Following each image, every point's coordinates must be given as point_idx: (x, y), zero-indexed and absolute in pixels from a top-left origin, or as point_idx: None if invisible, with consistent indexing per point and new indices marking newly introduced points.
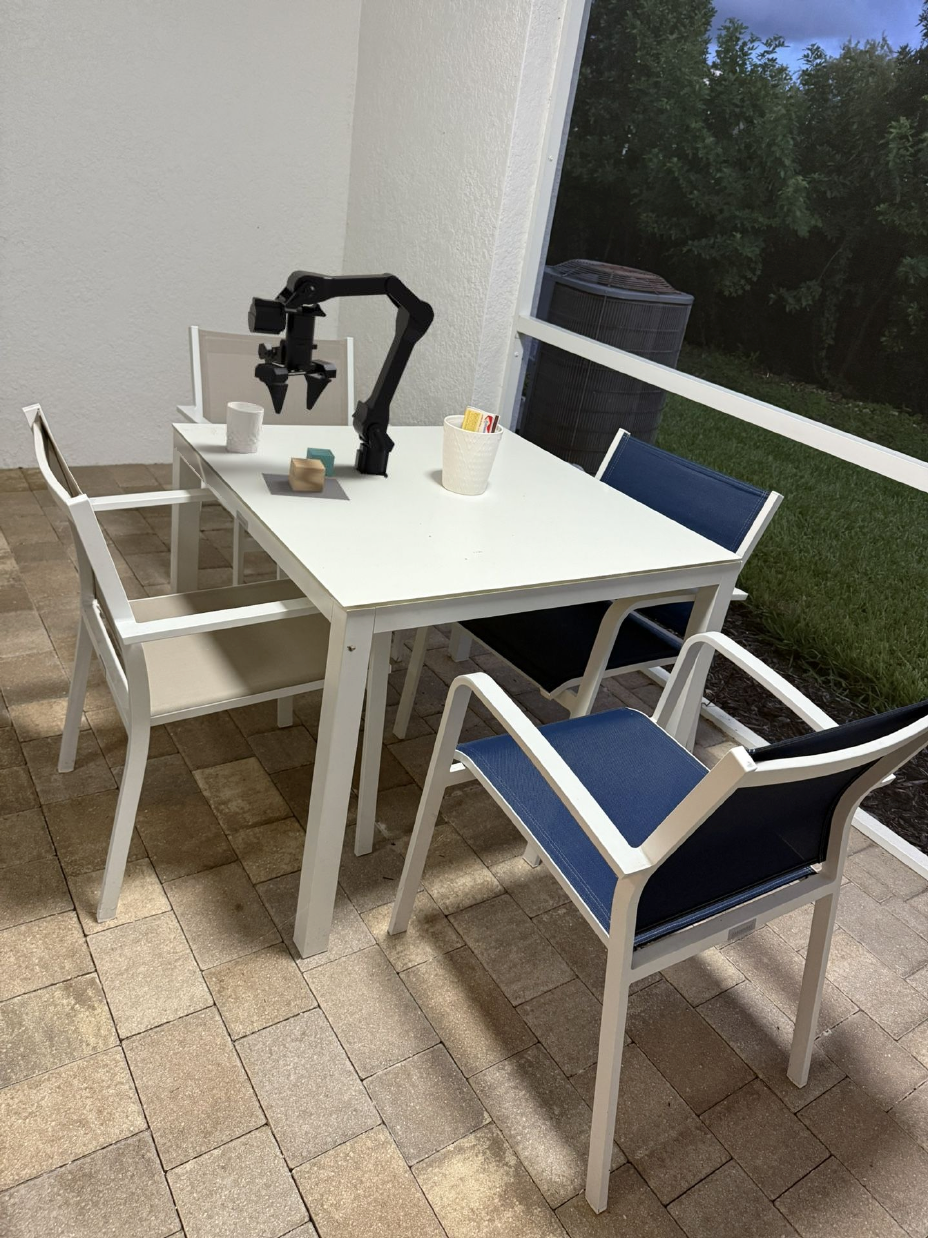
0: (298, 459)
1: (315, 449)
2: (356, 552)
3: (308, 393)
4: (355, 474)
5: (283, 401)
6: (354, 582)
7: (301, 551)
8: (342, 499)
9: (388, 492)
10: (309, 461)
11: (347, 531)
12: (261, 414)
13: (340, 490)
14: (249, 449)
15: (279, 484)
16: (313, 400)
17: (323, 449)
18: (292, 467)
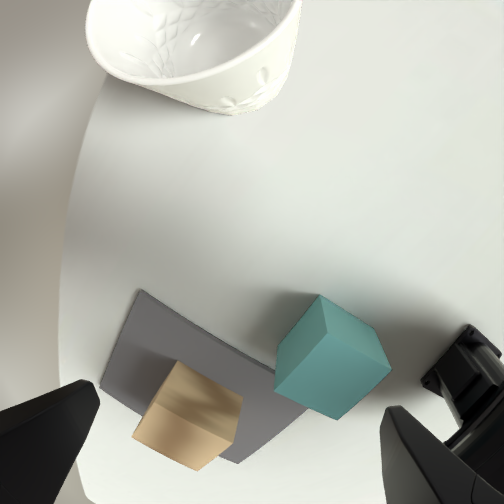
0: (166, 419)
1: (338, 357)
2: (133, 497)
3: (424, 501)
4: (417, 369)
5: (62, 475)
6: (103, 500)
7: (80, 467)
8: (224, 458)
9: (367, 454)
10: (190, 438)
11: (154, 485)
12: (226, 77)
13: (261, 438)
14: (218, 111)
15: (140, 366)
16: (387, 500)
17: (369, 364)
18: (150, 406)
